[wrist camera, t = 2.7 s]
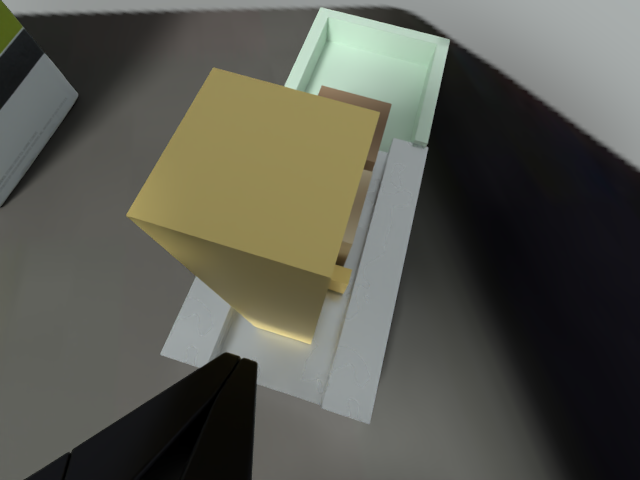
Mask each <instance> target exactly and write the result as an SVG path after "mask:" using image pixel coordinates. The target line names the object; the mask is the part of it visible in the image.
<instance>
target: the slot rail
mask: <svg viewBox="0 0 640 480" xmlns="http://www.w3.org/2000/svg"><path fill="white" fill-rule="evenodd" d="M427 152H428V147H426V146H422V145H418V144H415V143H411V142H407V141H404V140H400V139H396V138H393V140H392V143H391V145H390V148H389V151H388V153H387V152H383V151H378V155H377V159H376V162H375V165H374V168H373V171H372V172H373V173H372V177H371V180H370V184H369V187H368V191H367V195H366V198H365V202H364V205H363V209H362V212H361V216H360V219H359V223H358V226H357V230H356V233H355V237H354V241H353V244H352V247H351V249H350V252H349V254H348V257H347V259H346V262H345V264H344V267H345V268H349V269H352V272H351V276H350V280H349V283H348V286H347V288H346V290H345V292H344V294H342V293H339V292H336V291H333V290H329V289H328V290H327V293H326V297H325V300H324V303H323V306H322V310H321V313H320V316H319V319H318V323H317V326H316V329H315V332H314V336H313V339H312V342H311V344H307V343H304V342H301V341H298V340H295V339H292V338H289V337H285V336H282V335H279V334H276V333H273V332H270V331H267V330H264V329H260V328H257V327H255V326H253V325H252V324H251V323H250V322H249V321H248V320H246V319H245V318H244V317H243V316H242V315H241V314H240V313H238V312H237V311H236V310H235V309H234V308H233V307H231V306H230V305H229V304H228V303H227V302H226V301H224V300H223V299H222V298H221V297H220V296H219V295H218V294H216V293H215V292H214V291H213V290H212V289H211V288H209V287H208V286H207V285H206V284H205V283H204V282H202V281H201V280H200V279H199V278H198V277H197V276H196V278H195V280H194V282H193V284H192V286H191V289H190V291H189V293H188V295H187V297H186V299H185V302H184V304H183V306H182V308H181V310H180V312H179V315H178V317H177V319H176V321H175V323H174V325H173V328H172V330H171V332H170V334H169V336H168V339H167V341H166V343H165V345H164V347H163V349H162V352H161V354H160V355H163V356H166V357H169V358H172V359H175V360H178V361H181V362H184V363H187V364H190V365H193V366H196V367H199V368H201V367H202V366H204V365H205V364H207V363H208V362H210V361H212V360H213V359H215V358H216V357H218V356H219V355H221V354H222V353H225V352H229V353H232V354H235V355H238V356H240V357H241V359H242V358H247V359H250V360H253V361H256V362H257V363H258V372H257V384H259V385H262V386H265V387H268V388H271V389H274V390H277V391H280V392H283V393H286V394H289V395H292V396H295V397H298V398H301V399H304V400H307V401H310V402H313V403H316V404H319V405H320V406H321V408H322V409H325V410H328V411H331V412H334V413H337V414H340V415H343V416H346V417H349V418H352V419H355V420H358V421H361V422H364V423H367V424H370V420H371V416H372V411H373V406H374V401H375V397H376V392H377V387H378V383H379V378H380V373H381V368H382V364H383V359H384V354H385V350H386V345H387V340H388V335H389V331H390V326H391V321H392V317H393V312H394V307H395V302H396V298H397V293H398V288H399V284H400V279H401V274H402V269H403V265H404V260H405V255H406V251H407V246H408V241H409V236H410V232H411V227H412V222H413V218H414V213H415V208H416V203H417V199H418V194H419V189H420V185H421V180H422V175H423V170H424V166H425V161H426V156H427Z"/></svg>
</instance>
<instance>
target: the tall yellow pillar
mask: <svg viewBox="0 0 640 480" xmlns="http://www.w3.org/2000/svg"><path fill="white" fill-rule="evenodd" d="M379 115H380V112H377V111H374V110H370V109H366V108H362V107H359V106H355V105H351V104H348V103H344V102H340V101H336V100H333V99H329V98H325V97H321V96H318V95H314V94H310V93H306V92H303V91H299V90H295V89H292V88H288V87H284V86H280V85H277V84H273V83H269V82H265V81H262V80H258V79H254V78H250V77H247V76H243V75H239V74H236V73H232V72H228V71H224V70H221V69H217V68H213V69H212V71H211V72H210V74H209V76H208V77H207V79H206V81H205V82H204V84H203V86H202V87H201V89H200V91H199V93H198V94H197V96H196V98H195V99H194V101H193V103H192V104H191V106H190V108H189V109H188V111H187V113H186V115H185V116H184V118H183V120H182V121H181V123H180V125H179V126H178V128H177V130H176V132H175V133H174V135H173V137H172V138H171V140H170V142H169V143H168V145H167V147H166V148H165V150H164V152H163V154H162V155H161V157H160V159H159V160H158V162H157V164H156V165H155V167H154V169H153V170H152V172H151V174H150V176H149V177H148V179H147V181H146V182H145V184H144V186H143V187H142V189H141V191H140V192H139V194H138V196H137V198H136V199H135V201H134V203H133V204H132V206H131V208H130V209H129V211H128V213H127V214H126V216H127V217H128V218H129V219H131V220H132V221H133V222H134V223H135V224H136V225H138V226H139V227H140V228H141V229H142V230H143V231H145V232H146V233H147V234H148V235H149V236H150V237H151V238H153V239H154V240H155V241H156V242H157V243H158V244H160V245H161V246H162V247H163V248H164V249H165V250H167V251H168V252H169V253H170V254H171V255H172V256H173V257H175V258H176V259H177V260H178V261H179V262H180V263H182V264H183V265H184V266H185V267H186V268H187V269H189V270H190V271H191V272H192V273H193V274H194V275H196V276H197V277H198V278H199V279H200V280H201V281H202V282H204V283H205V284H206V285H207V286H208V287H209V288H211V289H212V290H213V291H214V292H215V293H216V294H218V295H219V296H220V297H221V298H222V299H223V300H224V301H226V302H227V303H228V304H229V305H230V306H231V307H233V308H234V309H235V310H236V311H237V312H238V313H240V314H241V315H242V316H243V317H244V318H245V319H246V320H248V321H249V322H250V323H251V324H252V325H253V326H255V327H257V328H260V329H264V330H267V331H270V332H273V333H276V334H279V335H282V336H285V337H289V338H292V339H295V340H298V341H301V342H304V343H307V344H311V342H312V339H313V336H314V332H315V329H316V326H317V323H318V319H319V316H320V313H321V310H322V306H323V303H324V300H325V297H326V293H327V290H328V289H329V290H333V291H336V292H339V293H342V294H344V292H345V290H346V288H347V286H348V283H349V280H350V276H351V272H352V269H349V268H345V267H342V266H339V265H335V263H336V260H337V257H338V253H339V250H340V247H341V243H342V240H343V236H344V233H345V230H346V226H347V223H348V220H349V216H350V213H351V209H352V206H353V203H354V199H355V196H356V193H357V189H358V186H359V182H360V179H361V176H362V172H363V169H364V166H365V162H366V159H367V155H368V152H369V149H370V145H371V142H372V139H373V135H374V132H375V129H376V125H377V122H378V118H379Z"/></svg>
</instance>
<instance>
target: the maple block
mask: <svg viewBox="0 0 640 480" xmlns="http://www.w3.org/2000/svg"><path fill="white" fill-rule="evenodd" d="M372 173H373V172H371V171H367V170H364V169H363V172H362V176H361V179H360V182H359V186H358V189H357V193H356V196H355V199H354V203H353V206H352V209H351V213H350V216H349V220H348V223H347V226H346V230H345V233H344V236H343V240H342V243H341V247H340V250H339V253H338V257H337V260H336V263H335V265H339V266H342V267H344V264H345V262H346V259H347V257H348V254H349V252H350V249H351V247H352V244H353V241H354V237H355V233H356V230H357V226H358V223H359V219H360V216H361V212H362V209H363V205H364V202H365V198H366V195H367V191H368V187H369V184H370V180H371V177H372Z"/></svg>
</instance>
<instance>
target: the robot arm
mask: <svg viewBox="0 0 640 480" xmlns="http://www.w3.org/2000/svg"><path fill="white" fill-rule="evenodd" d="M257 372H258V363H257V362H256V361H253V360H250V359H247V358H242V359H241V357H240V356H238V355H235V354H232V353H229V352H225V353H222V354H221V355H219V356H218V357H216V358H215V359H213V360H212V361H210V362H208V363H207V364H205V365H204V366H202V367H201V368H199V369H197V370H196V371H194V372H193V373H191V374H190V375H188V376H187V377H185V378H183V379H182V380H180V381H179V382H177V383H176V384H174V385H172V386H171V387H169V388H168V389H166V390H165V391H163V392H161V393H160V394H158V395H157V396H155V397H154V398H152V399H151V400H149V401H147V402H146V403H144V404H143V405H141V406H140V407H138V408H136V409H135V410H133V411H132V412H130V413H129V414H127V415H126V416H124V417H122V418H121V419H119V420H118V421H116V422H115V423H113V424H111V425H110V426H108V427H107V428H105V429H104V430H102V431H100V432H99V433H97V434H96V435H94V436H93V437H91V438H90V439H88V440H86V441H85V442H83V443H82V444H80V445H79V446H77V447H75V448H74V449H73V450H72V452H71V453H70V452H68V453H66V454H64V455H63V456H61V457H60V458H58V459H56V460H55V461H53V462H52V463H50V464H49V465H47V466H45V467H44V468H42V469H41V470H39V471H37V472H36V473H34V474H32V475H31V476H29V477H28V478H26V479H24V480H252V464H253V446H254V427H255V409H256V391H257Z"/></svg>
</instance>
